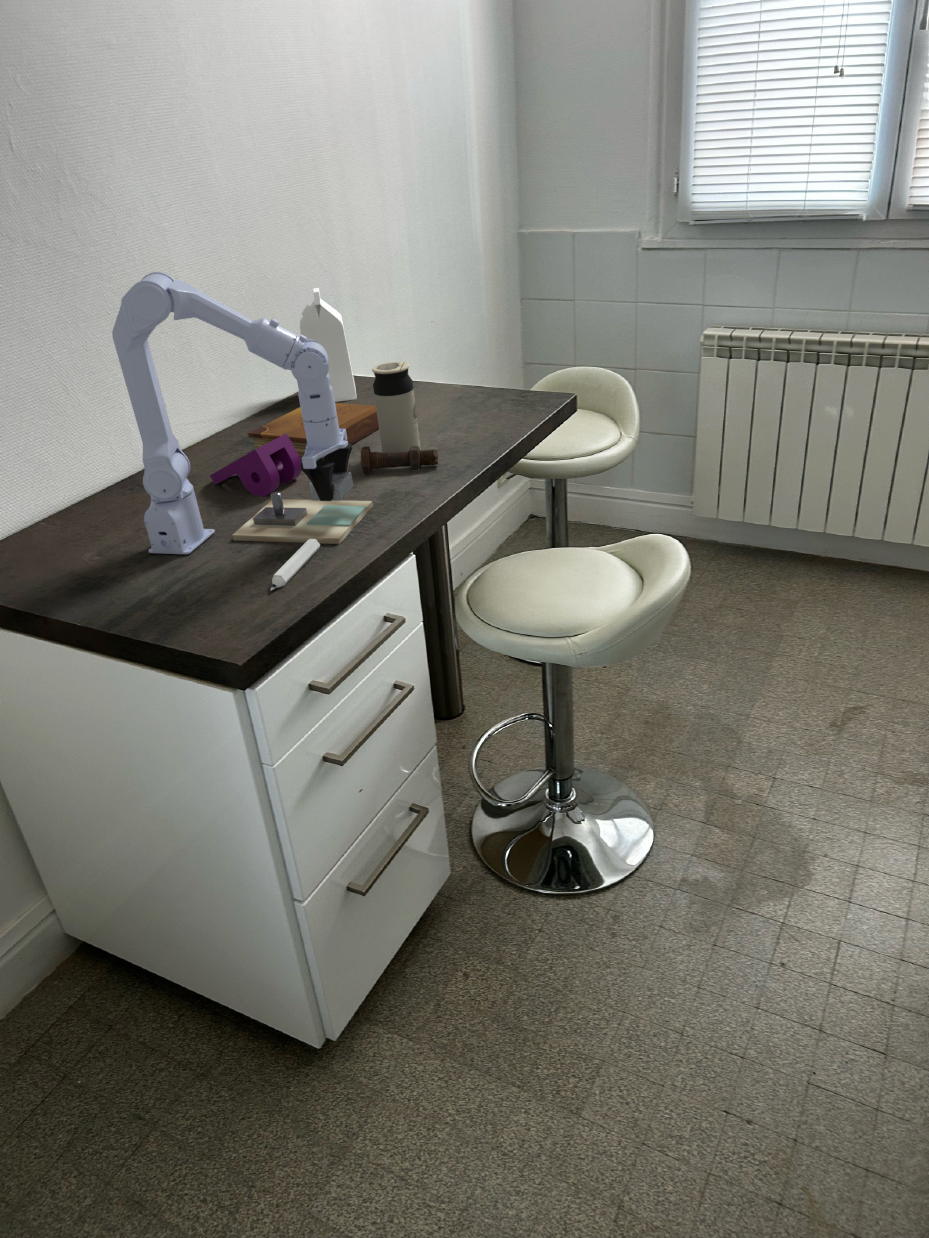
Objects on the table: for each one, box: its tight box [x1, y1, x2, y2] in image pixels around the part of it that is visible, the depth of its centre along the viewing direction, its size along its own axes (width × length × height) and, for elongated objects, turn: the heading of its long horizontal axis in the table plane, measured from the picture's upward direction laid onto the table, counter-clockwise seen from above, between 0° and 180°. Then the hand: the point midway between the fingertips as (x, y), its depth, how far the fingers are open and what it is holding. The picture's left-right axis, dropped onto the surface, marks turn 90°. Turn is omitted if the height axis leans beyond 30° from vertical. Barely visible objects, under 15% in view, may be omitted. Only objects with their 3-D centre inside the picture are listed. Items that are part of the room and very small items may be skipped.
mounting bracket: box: [209, 433, 302, 497], centre depth 182 cm, size 9×8×18 cm
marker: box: [270, 539, 321, 591], centre depth 146 cm, size 3×2×16 cm
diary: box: [247, 402, 379, 462], centre depth 201 cm, size 23×19×6 cm
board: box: [231, 498, 374, 545], centre depth 162 cm, size 16×20×1 cm
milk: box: [299, 287, 358, 403], centre depth 228 cm, size 12×12×26 cm
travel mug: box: [371, 361, 422, 453], centre depth 186 cm, size 8×8×18 cm
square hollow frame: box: [308, 471, 355, 501], centre depth 159 cm, size 6×6×3 cm
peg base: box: [253, 491, 307, 526], centre depth 161 cm, size 5×8×5 cm, turn 74°
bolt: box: [360, 445, 439, 476], centre depth 181 cm, size 6×5×15 cm
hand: (333, 493), depth 159 cm, fingers closed on square hollow frame, 6 cm apart
